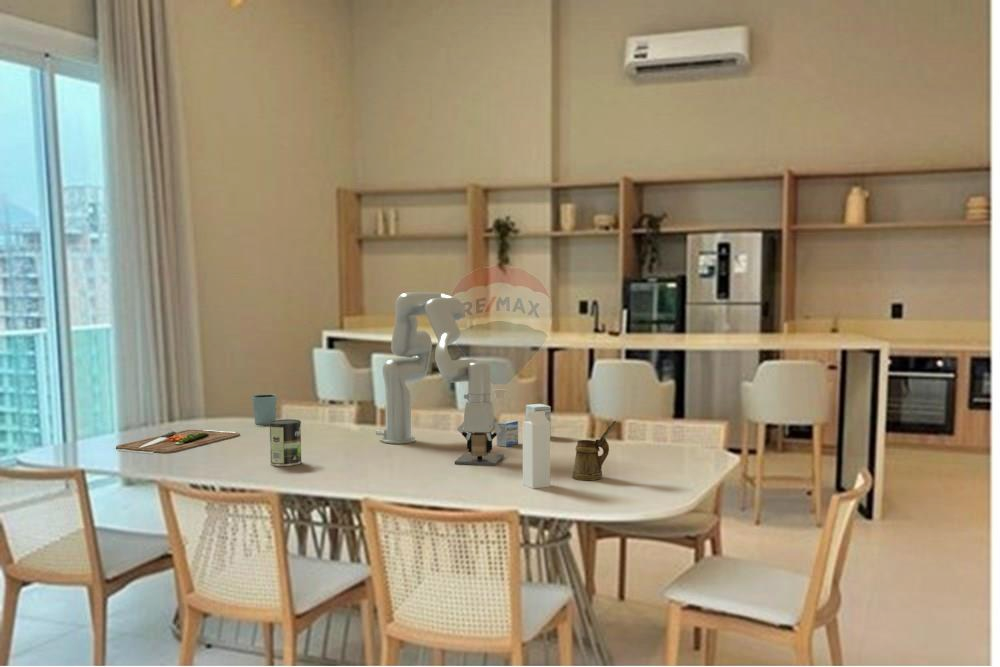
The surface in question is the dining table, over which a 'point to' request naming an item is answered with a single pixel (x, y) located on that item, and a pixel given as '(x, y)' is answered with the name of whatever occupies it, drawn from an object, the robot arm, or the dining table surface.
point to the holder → (479, 459)
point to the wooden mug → (591, 457)
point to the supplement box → (540, 408)
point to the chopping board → (176, 441)
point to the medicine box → (508, 433)
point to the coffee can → (285, 442)
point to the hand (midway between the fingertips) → (479, 451)
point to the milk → (536, 450)
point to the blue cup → (264, 408)
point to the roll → (479, 444)
